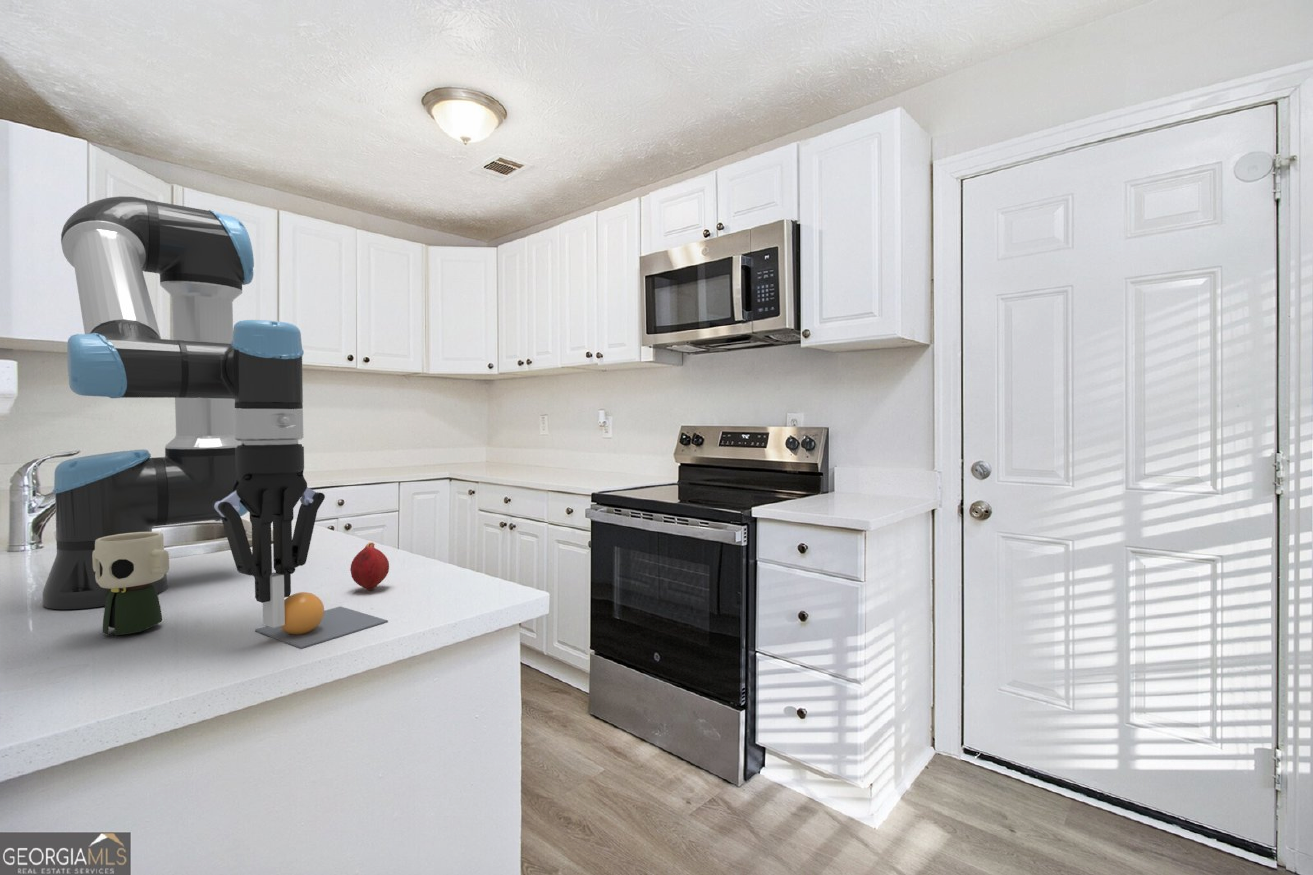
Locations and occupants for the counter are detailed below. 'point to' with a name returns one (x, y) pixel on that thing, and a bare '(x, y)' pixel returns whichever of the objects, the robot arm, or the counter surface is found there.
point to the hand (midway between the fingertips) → (273, 624)
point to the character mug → (130, 579)
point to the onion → (369, 567)
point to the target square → (326, 627)
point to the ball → (302, 613)
